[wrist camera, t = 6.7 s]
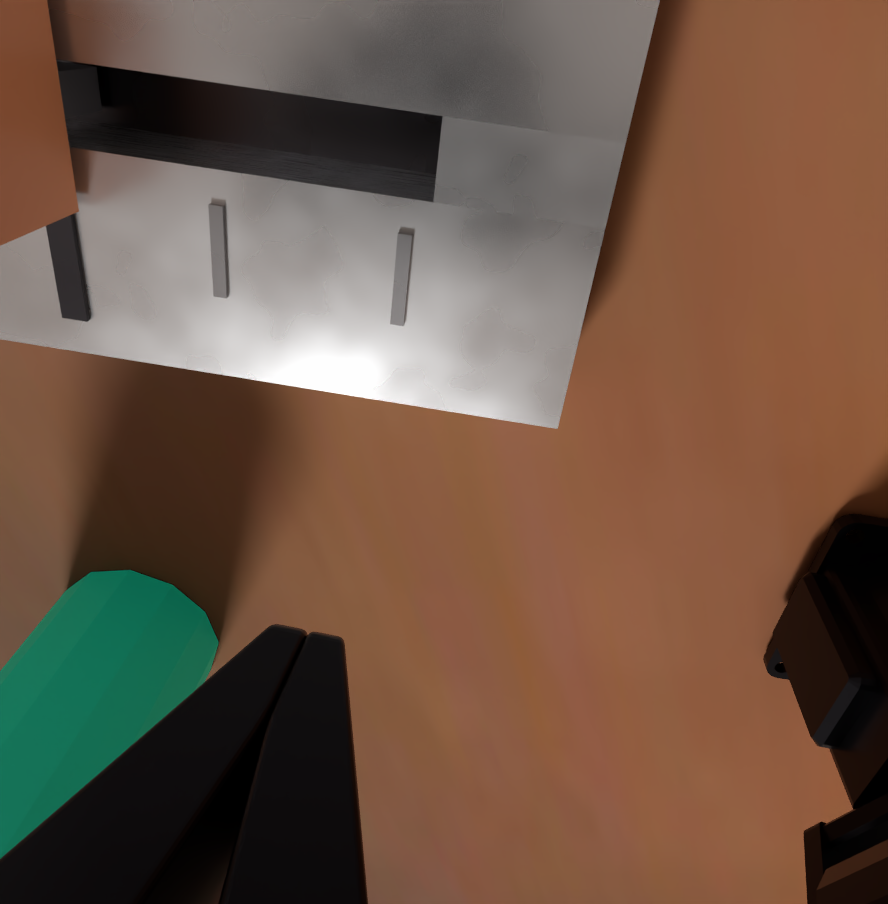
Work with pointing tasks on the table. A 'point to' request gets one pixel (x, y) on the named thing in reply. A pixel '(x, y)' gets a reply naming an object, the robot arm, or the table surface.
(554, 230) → the grey slider board
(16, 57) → the fader orange
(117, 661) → the candle
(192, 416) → the table surface
